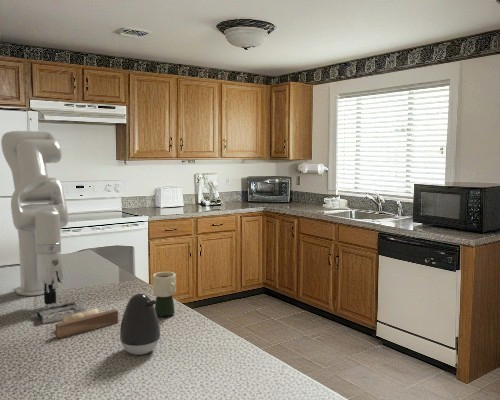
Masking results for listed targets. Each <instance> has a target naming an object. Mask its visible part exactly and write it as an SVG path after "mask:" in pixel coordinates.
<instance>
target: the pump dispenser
mask: <svg viewBox="0 0 500 400" xmlns="http://www.w3.org/2000/svg"><path fill="white" fill-rule="evenodd" d="M155 304H156V299H152V300H151V298H150V297H149V296H148V295H147V294H145V293H136V294H134V295H132V296H131V297H130V299H129V300H128V301H127V304H126V306H125V309H124V312H123V314H122V318H121V323H120V329H119V341H120V343H121V345H122V348H123V349H124V350H125V351H126V352H127V353H128V354H132V355H136V356H140V355H141V356H142V355H146V354H149V353H151V352H152V351H153V350H155V348H156V346H157V345H158V343H159V340H160V338H161V330H160V329H161V328H160V322H159V319H158V316H157V314H156V311H155Z"/></svg>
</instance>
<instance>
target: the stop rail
mask: <svg viewBox="0 0 500 400" xmlns="http://www.w3.org/2000/svg"><path fill="white" fill-rule="evenodd" d="M117 323H119V311H118V310H117V309H111V310H107V311H103V312H100V313H98V314H94V315H90V316H86V317H82V318H78V319H74V320H70V321H66V322H62V321H61V322H59V323H55V325H54V326H55V337H56V338H58V339H62V338H66V337H70V336H73V335H77V334H81V333H84V332H88V331H92V330H95V329H98V328H103V327H105V326H109V325H113V324H117Z"/></svg>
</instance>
